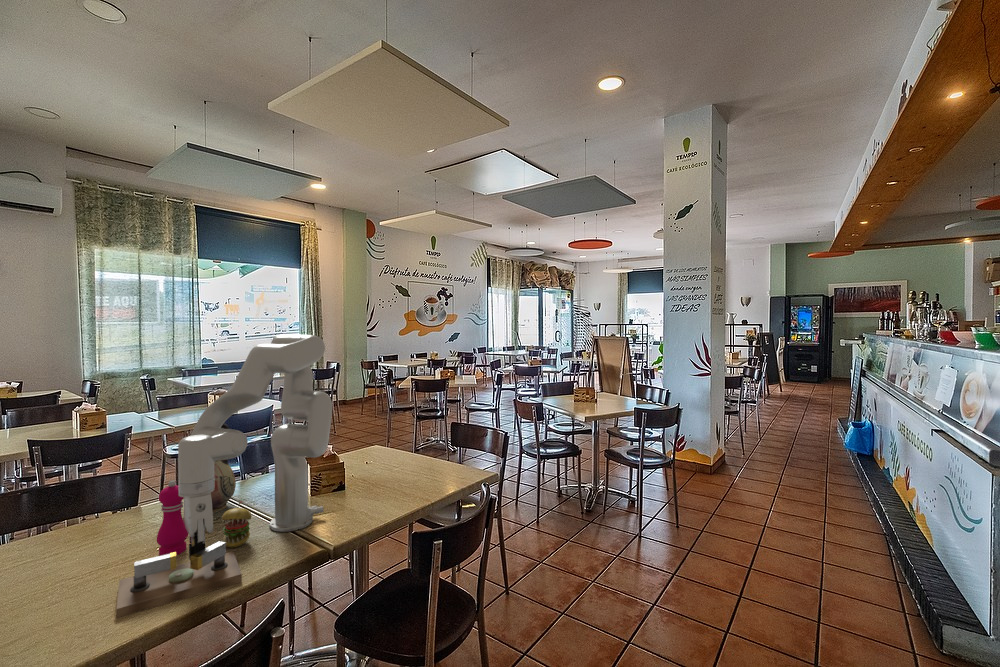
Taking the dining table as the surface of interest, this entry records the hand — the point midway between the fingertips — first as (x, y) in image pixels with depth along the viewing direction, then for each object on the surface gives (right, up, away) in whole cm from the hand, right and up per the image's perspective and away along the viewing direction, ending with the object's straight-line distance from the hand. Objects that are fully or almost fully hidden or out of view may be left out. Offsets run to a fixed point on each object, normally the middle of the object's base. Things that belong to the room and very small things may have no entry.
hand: (197, 558), depth 118 cm
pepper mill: (-16, -5, +14) cm, 21 cm away
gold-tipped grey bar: (+3, -3, 0) cm, 4 cm away
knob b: (-6, -3, -6) cm, 9 cm away
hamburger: (-1, -5, +19) cm, 19 cm away
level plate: (-2, -5, -2) cm, 6 cm away
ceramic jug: (-22, -4, +43) cm, 48 cm away
